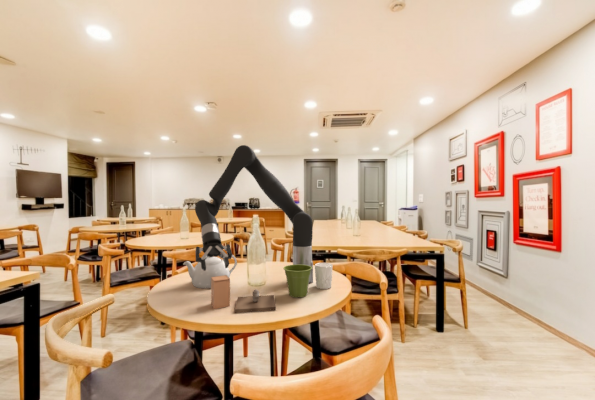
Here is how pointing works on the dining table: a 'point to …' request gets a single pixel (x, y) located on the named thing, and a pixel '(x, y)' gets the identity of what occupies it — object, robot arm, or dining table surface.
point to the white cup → (323, 275)
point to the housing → (220, 291)
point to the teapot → (208, 271)
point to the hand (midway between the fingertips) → (216, 268)
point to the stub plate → (255, 303)
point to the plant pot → (297, 279)
